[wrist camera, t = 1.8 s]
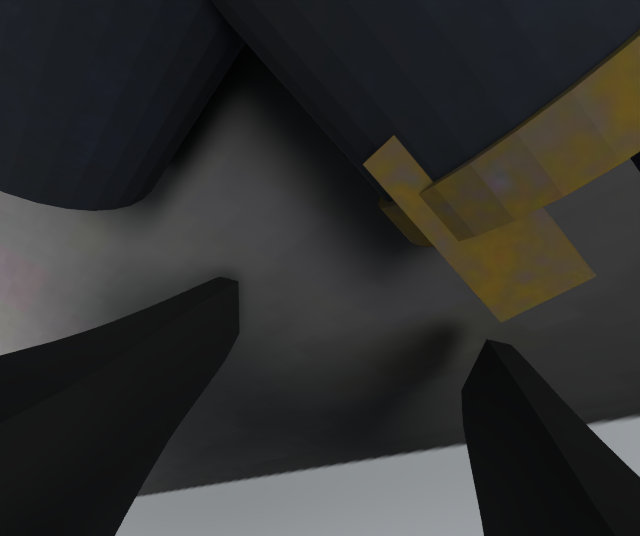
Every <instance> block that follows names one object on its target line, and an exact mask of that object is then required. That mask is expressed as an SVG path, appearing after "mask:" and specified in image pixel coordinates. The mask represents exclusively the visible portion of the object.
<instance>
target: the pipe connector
mask: <svg viewBox="0 0 640 536" xmlns="http://www.w3.org/2000/svg"><path fill="white" fill-rule="evenodd" d="M245 43H247V44H248V46H249V47H250V48H251V49H252V50H253V51H254V52H255V54H256V55H257V56H258V57H259V58H260V59H261V60H262V62H263V63H264V64H265V65H266V66H267V67H268V68H269V70H270V71H271V72H272V73H273V74H274V75H275V76H276V77H277V79H278V80H279V81H280V82H281V83H282V84H283V85H284V87H285V88H286V89H287V90H288V91H289V92H290V93H291V95H292V96H293V97H294V98H295V99H296V100H297V101H298V102H299V104H300V105H301V106H302V107H303V108H304V109H305V110H306V112H307V113H308V114H309V115H310V116H311V117H312V118H313V120H314V121H315V122H316V123H317V124H318V125H319V126H320V127H321V129H322V130H323V131H324V132H325V133H326V134H327V135H328V137H329V138H330V139H331V140H332V141H333V142H334V143H335V145H336V146H337V147H338V148H339V149H340V150H341V151H342V153H343V154H344V155H345V156H346V157H347V158H348V159H349V160H350V162H351V163H352V164H353V165H354V166H355V167H356V168H357V170H358V171H359V172H360V173H361V174H362V175H363V176H364V178H365V179H366V180H367V181H368V182H369V183H370V184H371V185H372V187H373V188H374V189H375V190H376V191H377V192H378V193H379V195H380V196H381V197H380V199H379V202H378V206H379V207H380V208H381V209H382V211H383V212H384V213H385V214H386V215H387V216H388V217H389V219H390V220H391V221H392V222H393V223H394V224H395V225H396V226H397V228H398V229H399V230H400V231H401V232H402V233H403V234H404V235H405V237H406V238H407V239H408V240H409V241H411V242H412V243H413V244H414V245H419V246H425V247H431V246H434V247H435V248H436V249H437V250H438V251H439V252H440V253H441V255H442V256H443V257H444V258H445V259H446V260H447V261H448V263H449V264H450V265H451V266H452V267H453V268H454V269H455V271H456V272H457V273H458V274H459V275H460V276H461V277H462V279H463V280H464V281H465V282H466V283H467V284H468V285H469V287H470V288H471V289H472V290H473V291H474V292H475V293H476V295H477V296H478V297H479V298H480V299H481V300H482V302H483V303H484V304H485V305H486V306H487V307H488V308H489V310H490V311H491V312H492V313H493V314H494V315H495V316H496V318H497V319H498V320H499V321H500V322H501V323H502V322H504V321H506V320H508V319H510V318H512V317H514V316H516V315H518V314H520V313H522V312H524V311H526V310H528V309H530V308H532V307H534V306H537V305H539V304H541V303H543V302H545V301H547V300H549V299H551V298H553V297H555V296H557V295H559V294H561V293H563V292H565V291H567V290H569V289H571V288H574V287H576V286H578V285H580V284H582V283H584V282H586V281H588V280H590V279H592V278H594V277H596V275H595V274H594V272H593V271H592V270H591V269H590V267H589V266H588V265H587V263H586V262H585V261H584V259H583V258H582V257H581V256H580V254H579V253H578V252H577V250H576V249H575V248H574V246H573V245H572V244H571V243H570V241H569V240H568V239H567V237H566V236H565V235H564V233H563V232H562V231H561V230H560V228H559V227H558V226H557V224H556V223H555V222H554V220H553V219H552V218H551V217H550V215H549V214H548V213H547V211H546V210H545V209H544V206H546V205H548V204H550V203H552V202H554V201H556V200H558V199H560V198H562V197H564V196H566V195H568V194H570V193H571V192H573V191H575V190H577V189H578V188H580V187H582V186H583V185H585V184H587V183H589V182H590V181H592V180H594V179H596V178H597V177H599V176H601V175H602V174H604V173H606V172H608V171H609V170H611V169H613V168H615V167H616V166H618V165H620V164H621V163H623V162H624V161H626V160H627V159H629V158H631V160H632V161H633V163H634V164H635V166H636V167H637V169H638V170H639V172H640V0H0V191H2V192H4V193H7V194H11V195H14V196H17V197H20V198H23V199H27V200H30V201H33V202H36V203H41V204H46V205H51V206H56V207H61V208H66V209H77V210H89V211H97V210H114V209H118V208H122V207H126V206H130V205H132V204H134V203H136V202H138V201H140V200H142V199H144V198H145V197H146V196H147V195H148V194H149V193H150V192H151V190H152V189H153V187H154V186H155V184H156V183H157V181H158V179H159V178H160V176H161V175H162V173H163V172H164V170H165V168H166V167H167V165H168V164H169V162H170V161H171V159H172V157H173V156H174V154H175V153H176V151H177V150H178V148H179V146H180V145H181V143H182V142H183V140H184V139H185V137H186V136H187V134H188V132H189V131H190V129H191V128H192V126H193V125H194V123H195V121H196V120H197V118H198V117H199V115H200V114H201V112H202V110H203V109H204V107H205V106H206V104H207V103H208V101H209V99H210V98H211V96H212V95H213V93H214V92H215V90H216V88H217V87H218V85H219V84H220V82H221V81H222V79H223V78H224V76H225V74H226V73H227V71H228V70H229V68H230V67H231V65H232V63H233V62H234V60H235V59H236V57H237V56H238V54H239V52H240V51H241V49H242V48H243V46H244V45H245Z"/></svg>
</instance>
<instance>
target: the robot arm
mask: <svg viewBox="0 0 640 536" xmlns="http://www.w3.org/2000/svg"><path fill="white" fill-rule="evenodd" d="M238 335H239V295H238V281H235V280H230V279H226V278H222V277H219V278H216V279H213V280H211V281H208V282H206V283H203V284H201V285H199V286H197V287H194V288H192V289H190V290H188V291H185V292H183V293H181V294H179V295H176V296H174V297H172V298H170V299H167V300H165V301H163V302H160V303H158V304H156V305H153V306H151V307H149V308H146V309H144V310H141V311H139V312H136V313H134V314H131V315H128V316H126V317H123V318H121V319H118V320H116V321H113V322H111V323H108V324H105V325H102V326H100V327H97V328H94V329H91V330H88V331H85V332H82V333H79V334H75V335H72V336H69V337H66V338H63V339H60V340H56V341H53V342H49V343H46V344H42V345H38V346H34V347H31V348H27V349H23V350H19V351H16V352H12V353H8V354H4V355H1V356H0V536H115V534H116V532H117V530H118V528H119V527H120V525H121V523H122V521H123V519H124V517H125V515H126V513H127V512H128V510H129V508H130V506H131V505H132V503H133V501H134V499H135V498H136V496H137V494H138V492H139V490H140V489H141V487H142V485H143V483H144V481H145V480H146V478H147V476H148V474H149V473H150V471H151V469H152V468H153V466H154V464H155V463H156V461H157V459H158V457H159V456H160V454H161V452H162V451H163V449H164V447H165V445H166V444H167V442H168V440H169V439H170V437H171V436H172V434H173V433H174V431H175V430H176V428H177V427H178V425H179V424H180V423H181V421H182V420H183V418H184V417H185V416H186V414H187V413H188V411H189V410H190V409H191V407H192V406H193V404H194V403H195V402H196V400H197V399H198V397H199V396H200V395H201V393H202V392H203V391H204V389H205V388H206V386H207V385H208V384H209V382H210V381H211V379H212V378H213V377H214V375H215V374H216V372H217V371H218V369H219V368H220V367H221V365H222V364H223V362H224V361H225V359H226V357H227V355H228V354H229V352H230V350H231V348H232V346H233V344H234V342H235V340H236V338H237V337H238ZM461 393H462V413H463V426H464V432H465V438H466V443H467V448H468V453H469V459H470V464H471V469H472V474H473V479H474V484H475V489H476V495H477V499H478V504H479V509H480V515H481V520H482V526H483V532H484V536H640V477H639V476H638V475H637V474H636V473H635V472H633V471H632V470H631V469H630V468H629V467H628V466H627V465H626V464H625V463H624V462H623V461H622V460H621V459H620V458H619V457H618V456H617V455H616V454H615V453H614V452H613V451H612V450H611V449H610V448H609V447H608V446H607V445H606V444H605V443H604V442H603V441H602V440H601V439H600V438H599V437H598V436H597V435H596V434H595V433H594V432H593V431H592V430H591V429H590V428H589V427H588V426H587V425H586V424H585V423H584V422H583V421H582V420H581V419H580V418H579V417H578V416H577V415H576V414H575V413H574V411H573V410H572V409H571V408H570V407H569V406H568V405H567V404H566V403H565V402H564V401H563V400H562V399H561V398H560V397H559V395H558V394H557V393H556V392H555V391H554V390H553V389H552V388H551V387H550V386H549V385H548V384H547V382H546V381H545V380H544V379H543V378H542V377H541V376H540V375H539V374H538V373H537V372H536V371H535V369H534V368H533V367H532V366H531V365H530V364H529V363H528V362H527V361H526V360H525V359H524V358H523V357H522V356H521V354H520V353H519V352H518V351H517V350H516V349H515V348H514V347H513V346H511V345H509V344H505V343H501V342H496V341H492V340H488V339H487V340H486V342H485V344H484V346H483V348H482V350H481V352H480V354H479V356H478V358H477V360H476V362H475V364H474V366H473V368H472V370H471V372H470V374H469V376H468V378H467V380H466V382H465V384H464V386H463V389H462V391H461Z"/></svg>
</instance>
